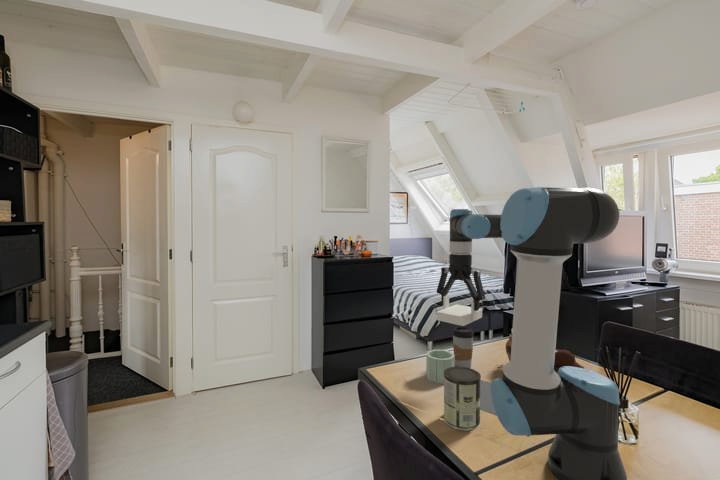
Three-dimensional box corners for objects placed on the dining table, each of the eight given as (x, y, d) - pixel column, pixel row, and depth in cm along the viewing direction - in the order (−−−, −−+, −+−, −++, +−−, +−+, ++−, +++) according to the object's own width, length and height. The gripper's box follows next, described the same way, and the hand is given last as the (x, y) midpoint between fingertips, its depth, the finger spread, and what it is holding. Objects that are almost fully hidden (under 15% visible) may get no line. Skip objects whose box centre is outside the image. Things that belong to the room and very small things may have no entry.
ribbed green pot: (445, 387, 124) (445, 361, 123) (421, 378, 130) (421, 354, 130) (459, 378, 131) (459, 354, 131) (435, 370, 138) (435, 347, 137)
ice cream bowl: (590, 402, 113) (591, 356, 112) (552, 399, 115) (553, 353, 114) (577, 387, 123) (578, 345, 122) (542, 384, 125) (543, 343, 125)
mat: (497, 417, 104) (497, 415, 104) (448, 399, 115) (448, 398, 115) (520, 393, 119) (520, 392, 119) (475, 379, 130) (475, 378, 130)
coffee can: (461, 408, 109) (461, 363, 109) (488, 424, 101) (488, 376, 100) (435, 417, 104) (436, 370, 104) (461, 435, 95) (462, 384, 95)
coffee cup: (447, 364, 144) (448, 328, 143) (463, 360, 147) (464, 325, 147) (461, 372, 136) (462, 333, 136) (478, 368, 140) (478, 330, 139)
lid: (463, 326, 116) (463, 317, 116) (436, 320, 123) (436, 311, 123) (482, 317, 126) (482, 309, 126) (456, 312, 133) (456, 304, 133)
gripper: (497, 254, 118) (495, 320, 119) (437, 250, 133) (437, 308, 135) (487, 256, 112) (485, 325, 114) (426, 252, 128) (426, 312, 129)
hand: (459, 316), depth 124 cm, fingers closed on lid, 10 cm apart
